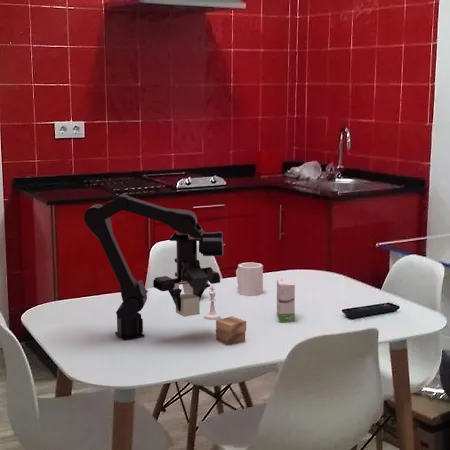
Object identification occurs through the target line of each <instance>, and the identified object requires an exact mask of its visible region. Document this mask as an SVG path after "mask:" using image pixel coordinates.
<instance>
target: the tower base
mask: <svg viewBox="0 0 450 450" xmlns="http://www.w3.org/2000/svg"><path fill="white" fill-rule="evenodd" d="M215 340H216V341H218V342H220V343H222V344H224V345H226V346H229V345H230V346H231V345H236V344H239V343H245V342H246V332H242V333H239V334H235V335H232V336H229V335H226V334H224V333H221V332H218V331H216V330H215Z"/></svg>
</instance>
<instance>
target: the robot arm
mask: <svg viewBox="0 0 450 450" xmlns="http://www.w3.org/2000/svg"><path fill="white" fill-rule="evenodd" d="M121 211H125V212H128V213H131V214H135V215H138V216H141V217H143V218H147V219H151V220H153V221H157V222H160V223H162V224H165V225H166V226H168V227H169V228H171V229H172V230H174V233H173V234H172V235H171V236H170V238H169V239H168V241H170V242H176V243H175V244H176V258H175V257H174V263H176V272H174V277H175V278H171V277H169V276H167V275H163V276H156V277H155V278H154V280H153V282H152V287H153V288H155V289H157V290H159V291H160V292H168V293H169V295H170V296H171V299H172V302H174V305H175V309H176V308H177V310H178V311H181V299H180V295H181V294H182V291H183V290H182V288H180V285H182V284H187V283H189V284H190V286H191V287H192V288H193V294H194V295H196V296H198V297H199V303H201V299H202V297H201V296H203V293H204V292H205V290H206V289H208V288H211V285H214V284H220V283H221V275H220V273H219V272H218V271H214V270H213V268H212V267H211V266H208V267H202V268H201V262H200V260H199V259H198V252H199V253H200V254H201V255H202V256H203V257H223V256H224V241H223V231H216V232H211V231H210V232H205V230H204V228H202V226H201V225H200V224H199V222H198V217H197V215H196V214H195V212H194V211H192V210H189V209H188V210H187V209H183V208H182V209H181V208H168V207H166V206H165V207H164V206H161V205H159V204H155V203H152V202H148V201H145V200H142V199H138V198H135V197H132V196H129V195H128V194H124V193H122V194H119V195H118V196H117V197H115V198H113V199H111V200H109V201H108V202H105V203H102V204H100V203H98V204H94V205H92V206H90V207H89V208H88V209H86V211H85V212H84V215H83V221H84V223H85V225H86V226H87V228H88V229H89V230H90V232H91V233H92V234H93V235H94V236H95V237H96V238H97V239H98V240H99V242H100V246H101V247H102V249H103V251H104V254H105V255H106V258H107V261H108V263H109V264H110V266H111V268H112V271H113V273H114V275H115V277H116V279H117V281H118V283H119V289H120V296H121V301H122V302H121V304H120V305H119V307H118V308H117V310H116V311H115V314H116V331H115V332H114V334H115V335H116V337H118V338H120V339H122V340H123V341H124V340H130V339H136V338H143V337H144V336H145V334H144V321H143V318H142V314H141V313H140V312H141V311H142V309H143V308H144V306H145V305H146V302H147V300H148V292H149V290H147V289H146V287H145V285H144V281H143V279H140V280H137V279H136V278H135V277H134V276H133V273H132V272H131V269H130V267H129V265H128V263H127V260H126V258H125V256H124V255H123V252H122V250H121V248H120V245H119V244H118V241H117V239H116V236H115V234H114V231H113V226H112V225H113V224H112V221H111V217H112V216H114V215H116V214H118V213H119V212H121ZM178 232H179V233H178ZM209 283H210V284H209Z"/></svg>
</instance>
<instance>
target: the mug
mask: <svg viewBox="0 0 450 450" xmlns="http://www.w3.org/2000/svg"><path fill="white" fill-rule="evenodd" d="M235 274H236V280H237V281H236V282H237V292H238V294H239V296H246V297H253V296H254V297H257V295H258V296H260V295H263V294H262V293H263V292H264V287H263V286H264V285H263V283H264V280H263V279H264V265H263V264H262V263H257V262H253V261H252V262H242V263H239V264H237V269H236V270H235Z"/></svg>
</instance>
